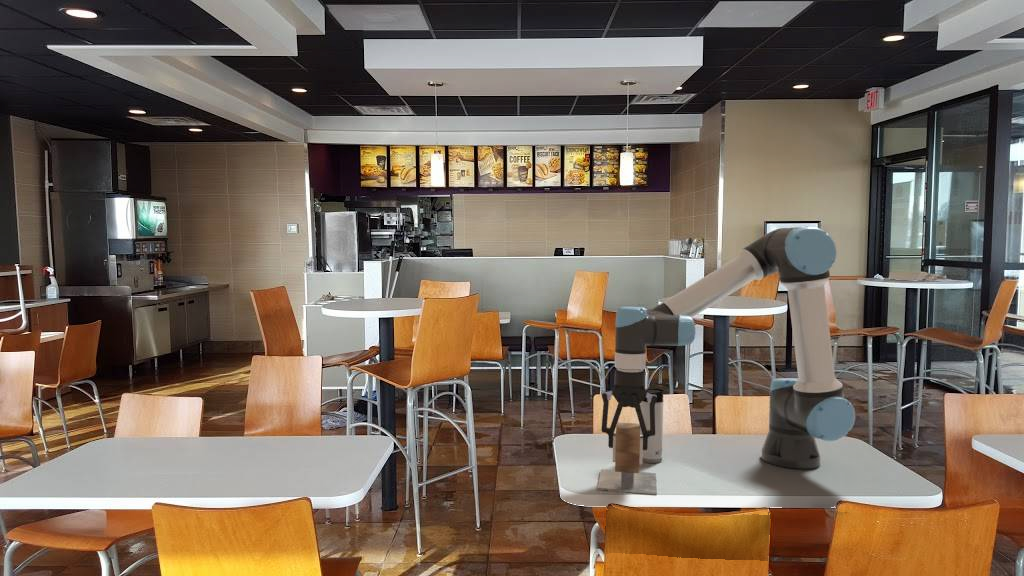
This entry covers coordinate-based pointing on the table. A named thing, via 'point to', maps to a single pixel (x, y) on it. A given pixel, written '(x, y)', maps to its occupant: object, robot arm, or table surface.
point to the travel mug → (655, 442)
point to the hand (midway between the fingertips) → (627, 461)
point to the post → (628, 482)
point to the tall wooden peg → (627, 447)
